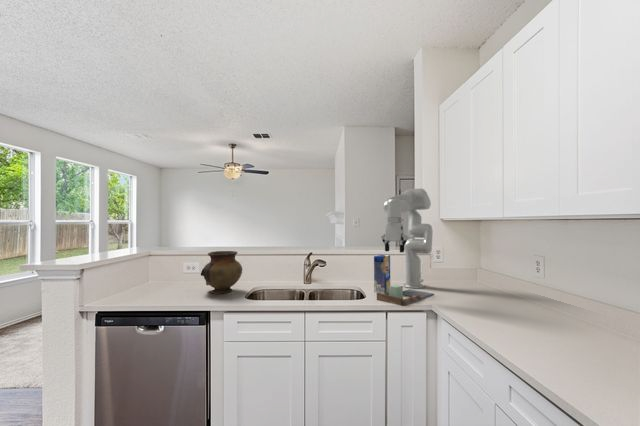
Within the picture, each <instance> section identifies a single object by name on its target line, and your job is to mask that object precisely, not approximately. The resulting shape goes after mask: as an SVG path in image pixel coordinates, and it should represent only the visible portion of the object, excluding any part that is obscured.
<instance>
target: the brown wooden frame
mask: <svg viewBox="0 0 640 426" xmlns="http://www.w3.org/2000/svg"><path fill="white" fill-rule="evenodd" d="M376 300H377V301H381V302H384V303H389V304H393V305H397V306H405V305H407V304H410V303H414V302H417V301H419V300H422V299H421V295H420V294H419V295H416V296H413V297H409V296H408V297H406V298H404V297H403V298H399V297H394V296H389V291H388V292H387V293H376Z"/></svg>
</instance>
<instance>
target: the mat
mask: <svg viewBox="0 0 640 426" xmlns="http://www.w3.org/2000/svg"><path fill="white" fill-rule="evenodd" d="M419 294H420V295H421V299H420V300H423V299H425V298H428V297H432V296H434V295H435V294H434V293H432V292H427V291H421V290H415V289H412V288H408V289H405V290H403V297H404V296H405V297H408V298H409V297H413V296H416V295H419Z"/></svg>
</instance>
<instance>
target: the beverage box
mask: <svg viewBox="0 0 640 426" xmlns="http://www.w3.org/2000/svg"><path fill="white" fill-rule="evenodd" d="M373 275H374V277H373V289H374V290H373V292H374V293H376V294H377V293H380V294H383V293H387V292H389V286H391V255H390V254H378V255H374V256H373Z"/></svg>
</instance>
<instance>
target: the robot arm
mask: <svg viewBox="0 0 640 426" xmlns="http://www.w3.org/2000/svg"><path fill="white" fill-rule="evenodd" d="M431 205H432V203H431V199H430V197H429V195H428V192H427V191H426V190H425V189H423V188H410V189H406V190H404V192H403V193H401V194H398V195H397V194H396V195H394V196H391V197H390V198H389V197H388V198H387V199H386V200H385V202H384V203H383V209H384V212H385V213H387V223H386V225H385V233H384V234H383V235H381V241H382V243H383V244H384V251H385V252H390V242H398V243H399V253H405V283H404V284H403V287H405V288H408V289H422V288H424V284H422V283H424V279H422V269H421V268H422V267H421V266H422V262H421V261H422V260H421V258H420V257H419V255H418V254H420V255H423V254H424V255H429V254H431V252H432V249H433V227H432V225H431V224H430V223H422V219H423V218H422V216H421V214H420V212H418V210H419V211H422V210H423V211H424V210H429V209H430V208H431ZM405 213H407V217H408V223H407V235H406V234H405V229H404V224H403V223H402V222H403V221H404V218H402V214H405ZM409 237H410V238H409Z"/></svg>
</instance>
